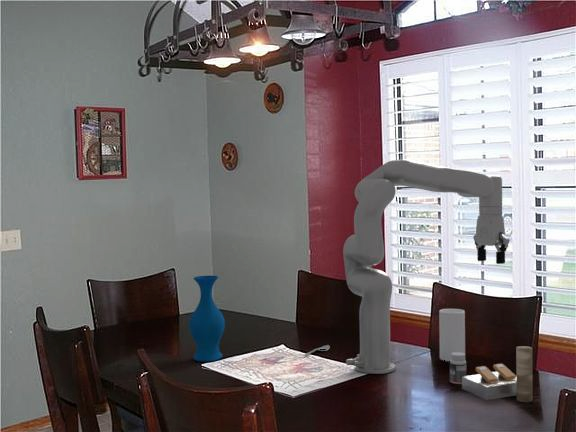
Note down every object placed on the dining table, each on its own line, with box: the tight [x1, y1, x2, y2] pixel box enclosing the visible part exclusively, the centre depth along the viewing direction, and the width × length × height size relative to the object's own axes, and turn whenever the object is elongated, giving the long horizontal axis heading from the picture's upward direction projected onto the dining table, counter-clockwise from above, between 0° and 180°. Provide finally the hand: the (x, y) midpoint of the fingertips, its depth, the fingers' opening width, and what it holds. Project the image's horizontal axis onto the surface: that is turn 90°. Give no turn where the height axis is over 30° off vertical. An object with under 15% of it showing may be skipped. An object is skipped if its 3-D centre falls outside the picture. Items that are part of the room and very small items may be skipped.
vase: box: [188, 275, 226, 363], centre depth 226 cm, size 12×13×28 cm
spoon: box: [303, 344, 331, 357], centre depth 230 cm, size 4×21×2 cm, turn 140°
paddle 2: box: [492, 363, 517, 380], centre depth 186 cm, size 3×6×1 cm, turn 21°
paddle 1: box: [475, 365, 498, 383], centre depth 183 cm, size 3×6×1 cm, turn 21°
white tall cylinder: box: [438, 308, 466, 362], centre depth 220 cm, size 8×8×16 cm
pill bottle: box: [449, 352, 467, 385], centre depth 194 cm, size 5×5×8 cm
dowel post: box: [515, 345, 534, 403], centre depth 176 cm, size 4×4×14 cm
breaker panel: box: [461, 370, 517, 401], centre depth 185 cm, size 14×11×4 cm
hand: (491, 262), depth 225 cm, fingers open, 9 cm apart
